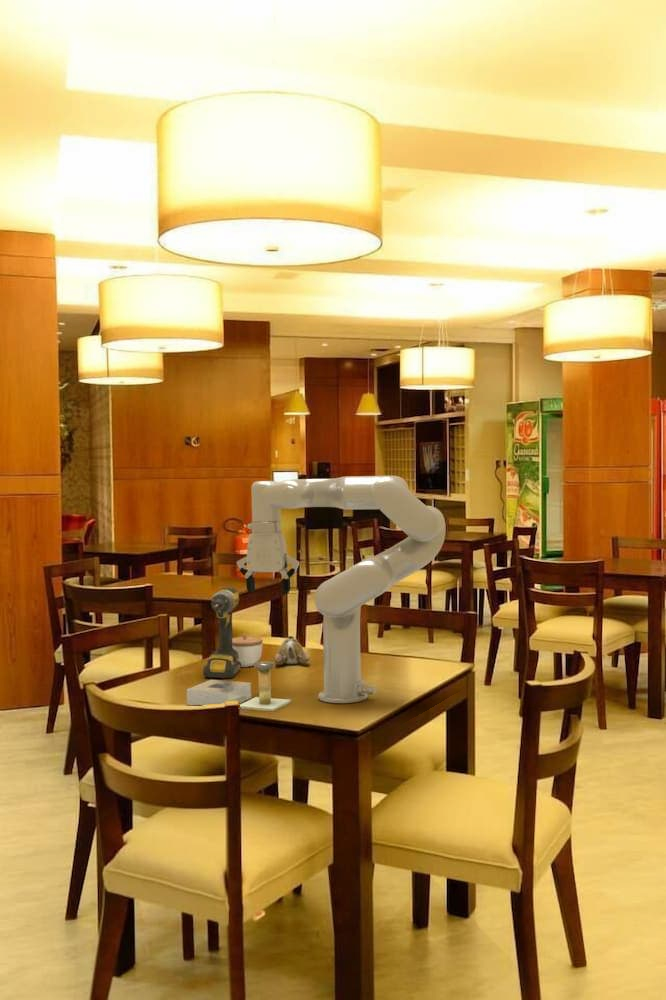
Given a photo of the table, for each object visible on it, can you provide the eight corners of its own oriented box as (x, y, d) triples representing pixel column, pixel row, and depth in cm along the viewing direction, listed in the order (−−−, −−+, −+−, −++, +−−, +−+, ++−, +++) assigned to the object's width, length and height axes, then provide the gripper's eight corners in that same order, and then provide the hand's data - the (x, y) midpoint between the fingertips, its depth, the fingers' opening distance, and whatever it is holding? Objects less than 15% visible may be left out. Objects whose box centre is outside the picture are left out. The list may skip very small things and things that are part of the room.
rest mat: (291, 702, 249) (290, 699, 249) (273, 711, 240) (273, 708, 240) (256, 699, 253) (256, 697, 253) (237, 708, 244) (237, 705, 244)
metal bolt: (269, 706, 243) (268, 665, 242) (251, 704, 245) (250, 664, 244) (278, 701, 247) (277, 661, 247) (260, 700, 249) (259, 660, 249)
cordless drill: (195, 684, 273) (193, 594, 272) (214, 669, 293) (212, 586, 292) (227, 684, 272) (225, 594, 271) (243, 669, 291) (241, 586, 291)
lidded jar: (265, 661, 303) (264, 631, 303) (260, 668, 292) (259, 637, 292) (231, 661, 304) (230, 631, 304) (224, 668, 293) (224, 637, 293)
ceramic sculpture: (306, 630, 307) (309, 641, 292) (307, 657, 308) (310, 669, 293) (272, 631, 306) (274, 643, 291) (273, 659, 307) (274, 671, 292)
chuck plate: (251, 697, 255) (250, 682, 255) (228, 708, 244) (228, 692, 243) (210, 694, 259) (210, 679, 259) (187, 705, 248) (186, 689, 248)
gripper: (230, 529, 254) (232, 594, 255) (292, 528, 249) (294, 595, 249) (242, 527, 261) (243, 591, 262) (302, 527, 256) (304, 592, 256)
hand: (268, 593), depth 256 cm, fingers open, 9 cm apart
